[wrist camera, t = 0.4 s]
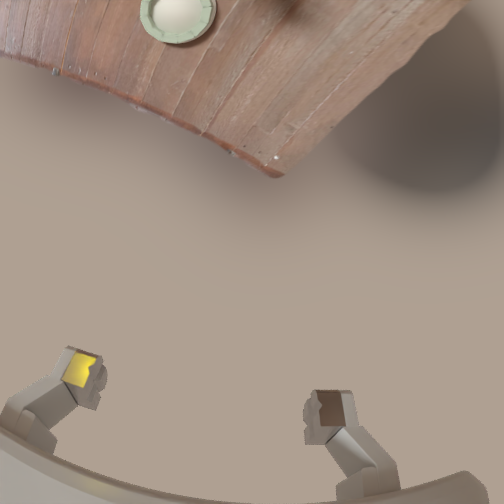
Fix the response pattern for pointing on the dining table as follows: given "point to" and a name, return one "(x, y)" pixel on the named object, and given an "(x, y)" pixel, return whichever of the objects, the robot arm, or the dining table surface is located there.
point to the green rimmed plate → (177, 18)
